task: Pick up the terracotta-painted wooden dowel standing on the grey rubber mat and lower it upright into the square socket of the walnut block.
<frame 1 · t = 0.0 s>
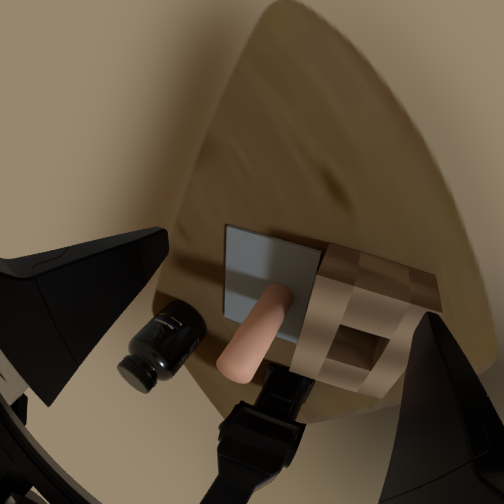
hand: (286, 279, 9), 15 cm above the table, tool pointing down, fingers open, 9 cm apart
socket block: (364, 311, 25), on the table
mat: (266, 288, 29), on the table
supplement bottle: (187, 318, 38), on the table
dowel: (279, 295, 28), resting on mat
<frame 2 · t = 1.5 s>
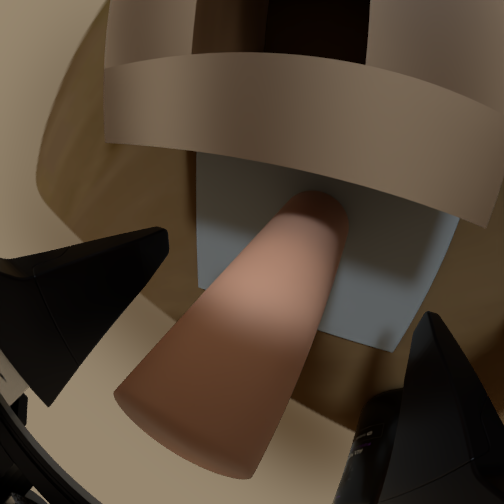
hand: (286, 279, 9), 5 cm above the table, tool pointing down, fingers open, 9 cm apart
socket block: (319, 25, 8), on the table
mat: (310, 249, 13), on the table
supplement bottle: (405, 408, 16), on the table
dowel: (314, 224, 12), resting on mat
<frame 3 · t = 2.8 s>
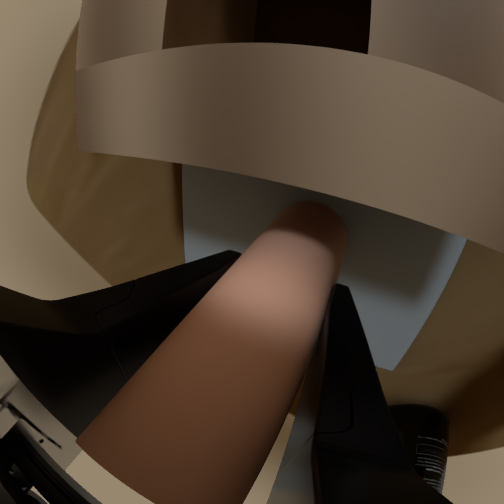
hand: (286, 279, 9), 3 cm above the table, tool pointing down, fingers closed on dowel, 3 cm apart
socket block: (314, 15, 7), on the table
mat: (305, 263, 12), on the table
supplement bottle: (404, 423, 15), on the table
dowel: (309, 237, 11), resting on mat, touching gripper
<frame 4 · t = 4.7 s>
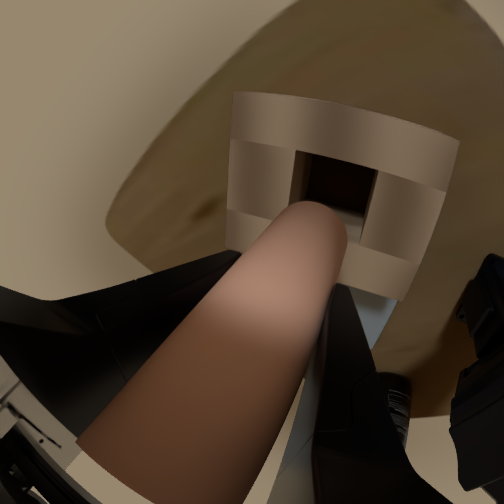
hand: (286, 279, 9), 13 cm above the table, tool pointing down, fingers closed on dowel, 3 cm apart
socket block: (341, 176, 18), on the table
mat: (325, 292, 24), on the table
supplement bottle: (383, 386, 26), on the table
dowel: (309, 237, 11), point 10 cm above the table, touching gripper
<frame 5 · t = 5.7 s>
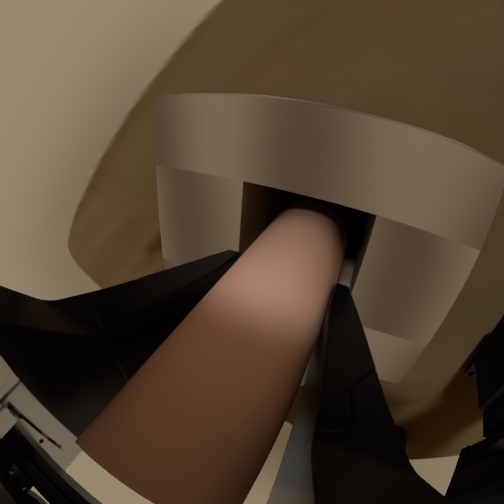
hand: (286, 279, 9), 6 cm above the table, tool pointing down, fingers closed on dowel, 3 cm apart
socket block: (324, 206, 14), on the table
dowel: (309, 237, 11), point 3 cm above the table, touching gripper
when the fingers open (6 cm above the table, at t = 6.4 s): dowel drops 3 cm, resting in socket block.
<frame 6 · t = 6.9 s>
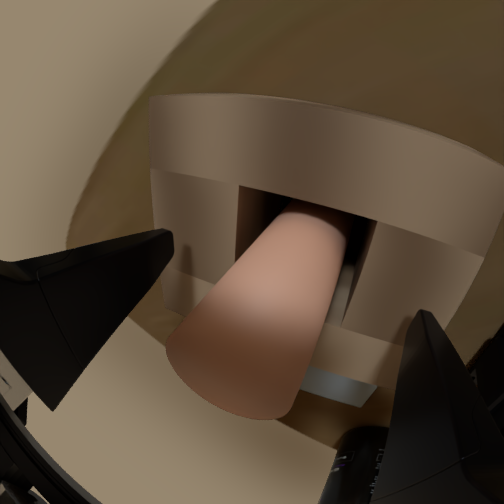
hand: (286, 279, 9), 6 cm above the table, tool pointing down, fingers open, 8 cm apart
socket block: (324, 209, 13), on the table
mat: (304, 349, 18), on the table
supplement bottle: (375, 437, 21), on the table
dowel: (324, 210, 13), resting in socket block
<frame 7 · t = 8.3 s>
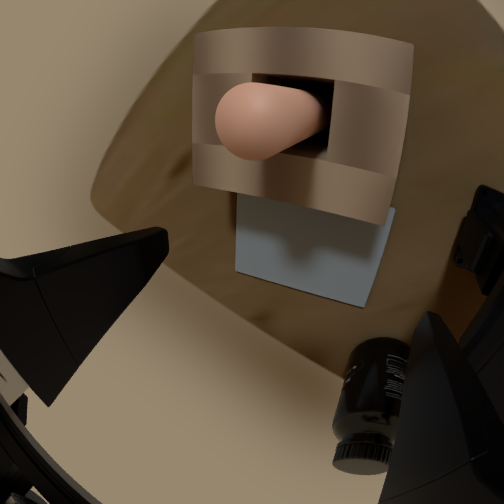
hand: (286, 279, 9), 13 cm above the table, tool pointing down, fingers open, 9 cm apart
socket block: (309, 112, 17), on the table
mat: (306, 242, 22), on the table
supplement bottle: (382, 356, 25), on the table
dowel: (310, 112, 17), resting in socket block
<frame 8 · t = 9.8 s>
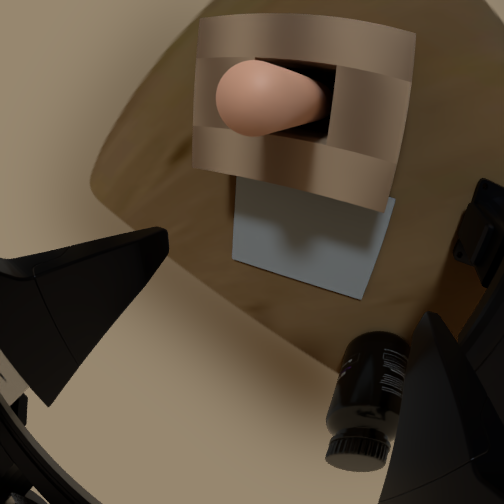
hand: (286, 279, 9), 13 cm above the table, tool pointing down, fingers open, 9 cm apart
socket block: (311, 99, 17), on the table
mat: (305, 230, 22), on the table
supplement bottle: (378, 351, 25), on the table
dowel: (311, 100, 17), resting in socket block
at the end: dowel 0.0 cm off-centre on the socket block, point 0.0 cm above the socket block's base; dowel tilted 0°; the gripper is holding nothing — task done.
